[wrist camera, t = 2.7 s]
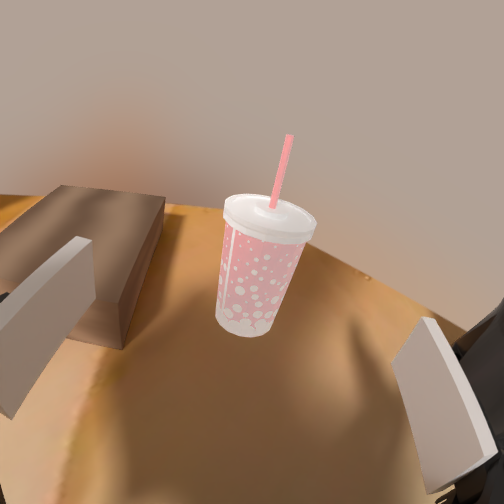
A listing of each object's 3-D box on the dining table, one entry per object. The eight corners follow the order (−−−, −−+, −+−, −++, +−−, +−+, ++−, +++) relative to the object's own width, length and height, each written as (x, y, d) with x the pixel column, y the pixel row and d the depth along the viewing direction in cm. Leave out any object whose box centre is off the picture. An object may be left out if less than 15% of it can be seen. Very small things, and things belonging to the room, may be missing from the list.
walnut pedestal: (162, 230, 33) (165, 197, 31) (122, 349, 18) (117, 303, 16) (62, 216, 31) (61, 185, 29) (-22, 311, 15) (-37, 268, 13)
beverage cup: (297, 329, 23) (358, 154, 17) (234, 355, 20) (289, 141, 13) (251, 286, 27) (290, 130, 21) (191, 302, 24) (220, 119, 17)
